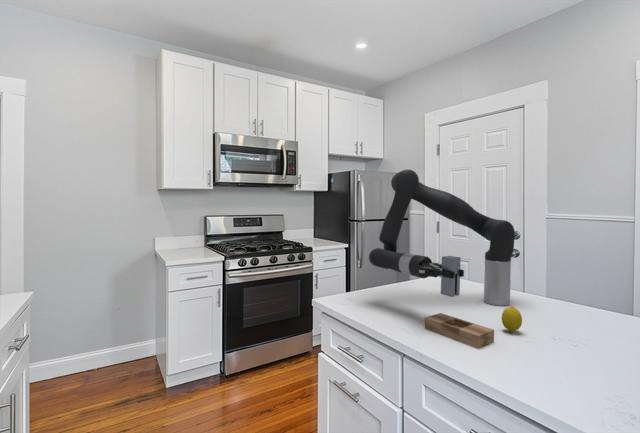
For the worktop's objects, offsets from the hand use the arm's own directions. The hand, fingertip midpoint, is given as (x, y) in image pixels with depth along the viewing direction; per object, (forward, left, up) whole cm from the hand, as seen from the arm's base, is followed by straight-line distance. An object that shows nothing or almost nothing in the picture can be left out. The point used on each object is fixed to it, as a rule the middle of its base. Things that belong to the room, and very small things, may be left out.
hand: (458, 274), depth 106 cm
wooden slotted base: (+3, +2, -18) cm, 18 cm away
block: (0, -3, -7) cm, 8 cm away
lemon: (-13, +10, -18) cm, 25 cm away
